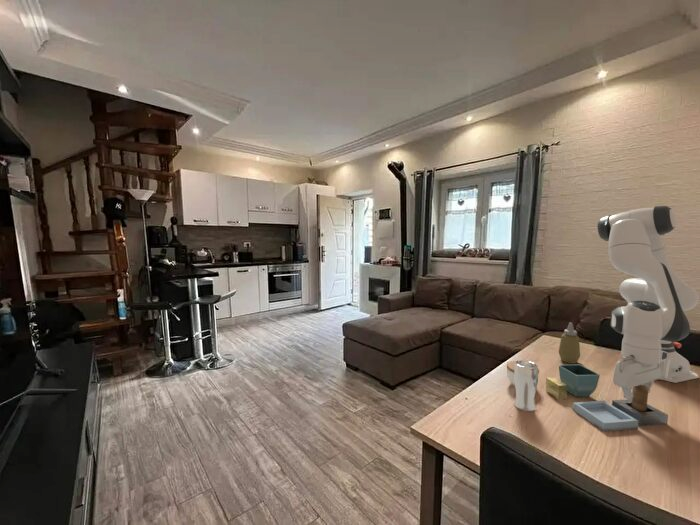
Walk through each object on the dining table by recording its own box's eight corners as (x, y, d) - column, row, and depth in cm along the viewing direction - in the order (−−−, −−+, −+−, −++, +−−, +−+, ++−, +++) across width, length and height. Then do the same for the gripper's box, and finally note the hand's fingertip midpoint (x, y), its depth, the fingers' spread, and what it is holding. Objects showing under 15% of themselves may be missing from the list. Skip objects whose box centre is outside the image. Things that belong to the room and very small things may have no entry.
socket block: (636, 407, 100) (637, 398, 99) (667, 424, 91) (668, 414, 90) (611, 409, 99) (612, 400, 99) (640, 426, 90) (641, 416, 90)
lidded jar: (538, 396, 107) (539, 371, 106) (504, 388, 113) (505, 364, 112) (538, 383, 116) (539, 360, 116) (507, 377, 122) (508, 355, 121)
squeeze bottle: (577, 359, 138) (579, 321, 137) (582, 366, 131) (584, 326, 130) (556, 356, 142) (558, 319, 140) (560, 363, 134) (562, 324, 133)
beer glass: (533, 402, 103) (535, 361, 102) (539, 414, 97) (541, 369, 95) (511, 399, 106) (512, 358, 104) (515, 410, 99) (516, 366, 98)
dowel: (637, 412, 97) (639, 383, 96) (649, 419, 93) (651, 388, 92) (627, 413, 96) (629, 383, 95) (639, 420, 93) (641, 389, 92)
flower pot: (578, 386, 114) (580, 364, 113) (599, 399, 105) (600, 374, 104) (556, 387, 113) (557, 364, 112) (575, 400, 104) (576, 375, 104)
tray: (603, 407, 100) (603, 400, 99) (637, 428, 89) (638, 420, 89) (572, 409, 99) (573, 402, 99) (603, 431, 88) (604, 423, 88)
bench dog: (553, 389, 111) (553, 377, 111) (566, 398, 106) (566, 385, 105) (545, 390, 111) (546, 377, 111) (558, 399, 105) (558, 385, 105)
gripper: (633, 362, 87) (629, 407, 88) (671, 352, 94) (667, 394, 95) (608, 354, 92) (605, 396, 94) (645, 345, 100) (642, 385, 101)
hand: (636, 395), depth 94 cm, fingers open, 8 cm apart
